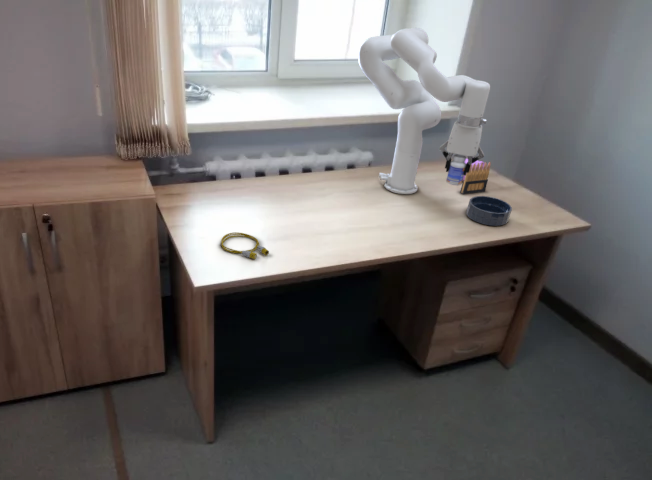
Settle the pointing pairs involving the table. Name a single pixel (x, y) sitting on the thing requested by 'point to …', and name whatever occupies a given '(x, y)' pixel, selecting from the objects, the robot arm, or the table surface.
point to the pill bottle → (456, 170)
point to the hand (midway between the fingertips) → (456, 171)
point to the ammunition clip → (476, 179)
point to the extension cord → (249, 252)
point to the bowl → (488, 210)
